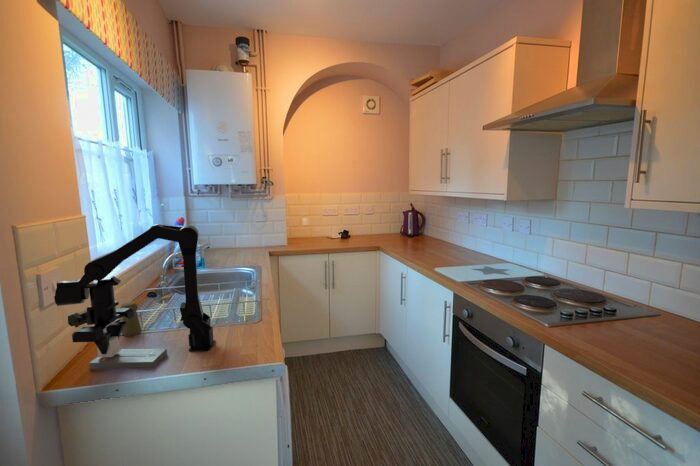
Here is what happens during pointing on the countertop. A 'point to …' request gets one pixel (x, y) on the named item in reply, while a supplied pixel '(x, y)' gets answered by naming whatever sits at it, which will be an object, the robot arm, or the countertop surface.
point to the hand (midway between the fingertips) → (108, 350)
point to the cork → (131, 320)
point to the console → (130, 359)
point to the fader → (111, 347)
